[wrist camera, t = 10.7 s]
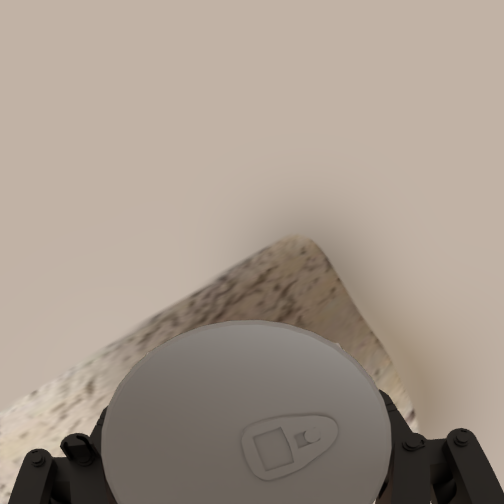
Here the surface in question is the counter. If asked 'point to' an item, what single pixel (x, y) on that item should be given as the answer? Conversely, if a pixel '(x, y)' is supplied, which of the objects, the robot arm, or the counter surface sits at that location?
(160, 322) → the counter surface
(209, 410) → the canned food
